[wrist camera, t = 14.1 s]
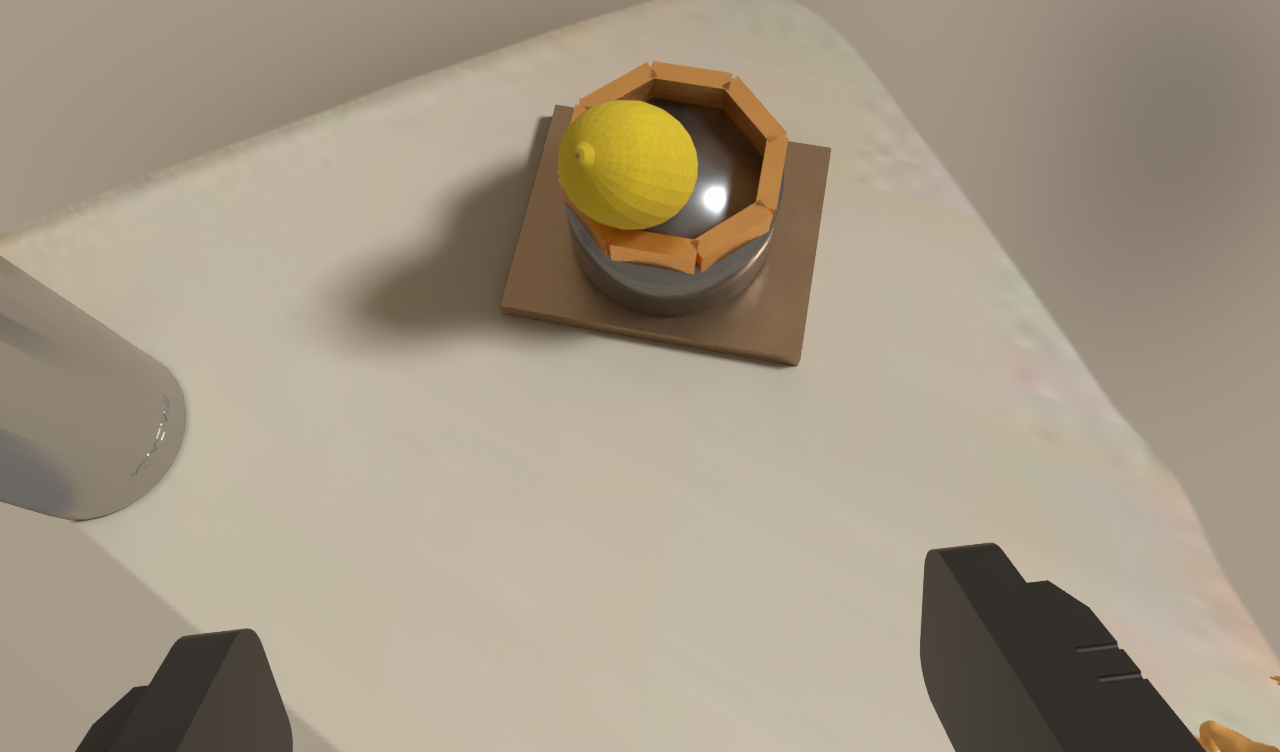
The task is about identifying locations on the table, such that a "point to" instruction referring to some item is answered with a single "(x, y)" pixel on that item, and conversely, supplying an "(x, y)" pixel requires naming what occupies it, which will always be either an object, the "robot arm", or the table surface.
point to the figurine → (1229, 738)
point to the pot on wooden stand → (684, 230)
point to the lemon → (627, 164)
